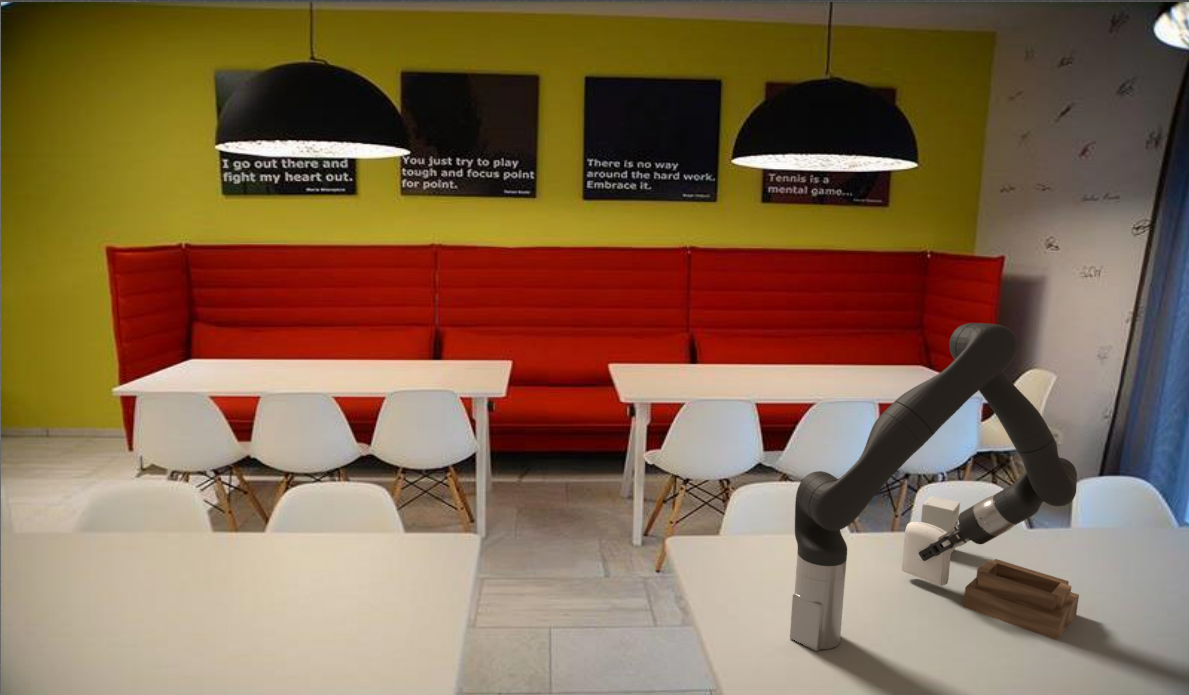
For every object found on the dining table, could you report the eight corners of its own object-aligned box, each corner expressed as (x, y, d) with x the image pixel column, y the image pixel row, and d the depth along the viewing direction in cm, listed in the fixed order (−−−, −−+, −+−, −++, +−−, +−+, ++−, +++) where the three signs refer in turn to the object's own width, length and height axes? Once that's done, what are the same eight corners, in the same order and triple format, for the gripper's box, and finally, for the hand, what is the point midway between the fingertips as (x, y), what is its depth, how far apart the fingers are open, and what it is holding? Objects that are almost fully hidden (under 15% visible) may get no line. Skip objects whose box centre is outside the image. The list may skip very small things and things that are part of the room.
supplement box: (948, 560, 191) (953, 510, 189) (916, 551, 196) (921, 503, 193) (956, 549, 197) (961, 501, 195) (925, 541, 202) (929, 494, 199)
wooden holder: (1056, 641, 157) (1061, 604, 155) (963, 608, 169) (966, 573, 168) (1076, 616, 167) (1080, 581, 165) (986, 586, 179) (989, 553, 177)
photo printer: (898, 571, 181) (903, 520, 179) (907, 566, 183) (912, 515, 181) (941, 588, 173) (947, 535, 171) (951, 582, 176) (956, 530, 173)
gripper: (990, 495, 172) (930, 530, 183) (962, 511, 163) (901, 547, 174) (1013, 526, 170) (951, 559, 180) (986, 544, 160) (922, 578, 171)
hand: (926, 553), depth 177 cm, fingers closed on photo printer, 4 cm apart
